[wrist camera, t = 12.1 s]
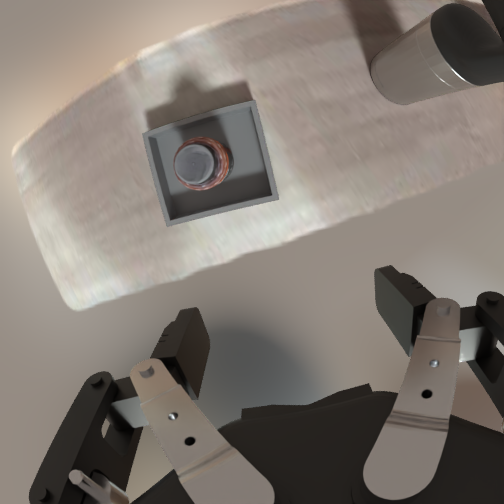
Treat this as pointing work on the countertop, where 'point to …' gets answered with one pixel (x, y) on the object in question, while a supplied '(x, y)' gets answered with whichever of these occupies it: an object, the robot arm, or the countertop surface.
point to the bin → (232, 188)
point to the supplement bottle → (202, 163)
